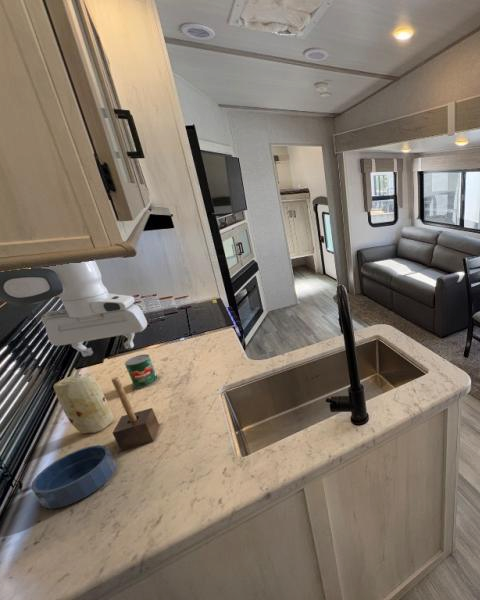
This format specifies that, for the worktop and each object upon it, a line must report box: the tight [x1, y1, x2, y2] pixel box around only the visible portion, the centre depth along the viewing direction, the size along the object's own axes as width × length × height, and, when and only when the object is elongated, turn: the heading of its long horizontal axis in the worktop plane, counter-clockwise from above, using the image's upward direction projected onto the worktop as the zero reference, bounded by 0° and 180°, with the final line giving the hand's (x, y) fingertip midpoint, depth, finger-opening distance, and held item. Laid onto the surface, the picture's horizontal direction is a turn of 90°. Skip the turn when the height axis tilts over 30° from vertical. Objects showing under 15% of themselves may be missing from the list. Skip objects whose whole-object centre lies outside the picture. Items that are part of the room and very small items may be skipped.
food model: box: [53, 372, 115, 434], centre depth 99 cm, size 10×7×20 cm
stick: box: [111, 376, 137, 422], centre depth 93 cm, size 2×2×22 cm
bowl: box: [30, 444, 117, 510], centre depth 81 cm, size 14×14×6 cm
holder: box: [112, 407, 160, 452], centre depth 96 cm, size 8×8×7 cm
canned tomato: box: [124, 353, 159, 389], centre depth 125 cm, size 8×8×11 cm
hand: (109, 351), depth 86 cm, fingers open, 8 cm apart
